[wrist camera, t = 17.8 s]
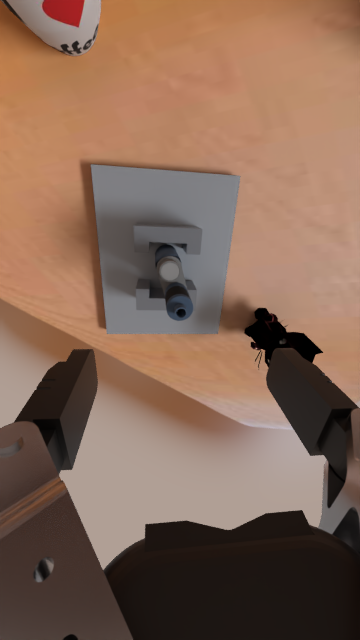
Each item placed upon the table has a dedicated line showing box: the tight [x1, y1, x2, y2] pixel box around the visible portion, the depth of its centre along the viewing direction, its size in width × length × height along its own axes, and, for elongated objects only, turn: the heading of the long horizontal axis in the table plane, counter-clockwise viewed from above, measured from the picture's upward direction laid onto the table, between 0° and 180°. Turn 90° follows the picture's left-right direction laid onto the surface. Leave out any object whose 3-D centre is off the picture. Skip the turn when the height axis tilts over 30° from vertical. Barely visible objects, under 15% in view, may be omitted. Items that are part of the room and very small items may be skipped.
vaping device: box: [155, 244, 193, 321], centre depth 24 cm, size 3×5×12 cm, turn 14°
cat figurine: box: [245, 308, 323, 368], centre depth 30 cm, size 7×7×12 cm
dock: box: [91, 164, 240, 334], centre depth 28 cm, size 20×16×5 cm
